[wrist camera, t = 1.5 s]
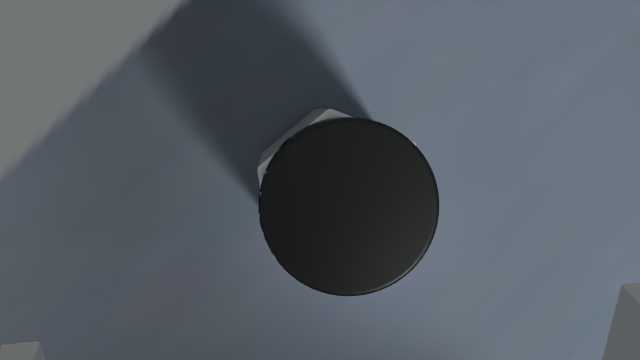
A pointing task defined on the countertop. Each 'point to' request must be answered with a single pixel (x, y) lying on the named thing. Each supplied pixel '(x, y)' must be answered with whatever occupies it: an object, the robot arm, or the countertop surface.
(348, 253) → the jar
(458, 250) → the countertop surface
